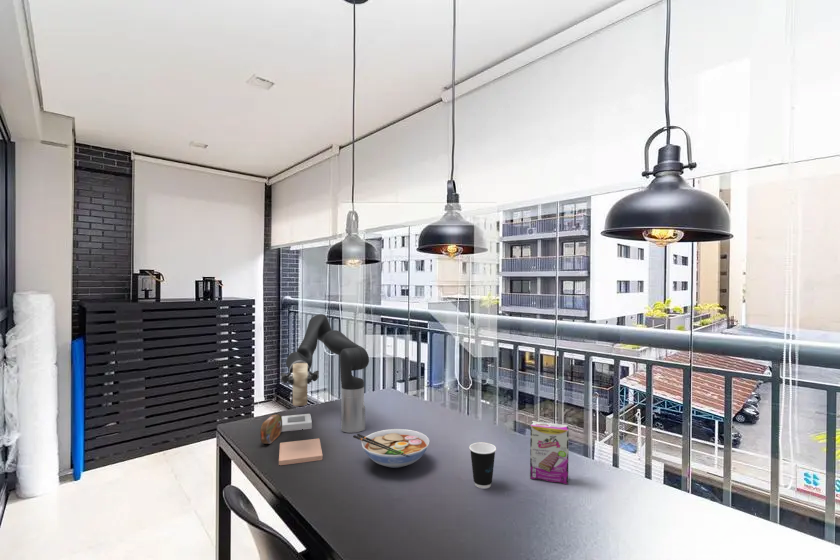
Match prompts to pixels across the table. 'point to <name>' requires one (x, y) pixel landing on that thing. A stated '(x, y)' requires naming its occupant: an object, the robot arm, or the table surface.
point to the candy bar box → (549, 452)
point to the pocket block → (296, 422)
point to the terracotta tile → (300, 451)
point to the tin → (271, 429)
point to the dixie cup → (482, 463)
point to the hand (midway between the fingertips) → (300, 381)
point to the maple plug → (300, 384)
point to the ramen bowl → (394, 446)
